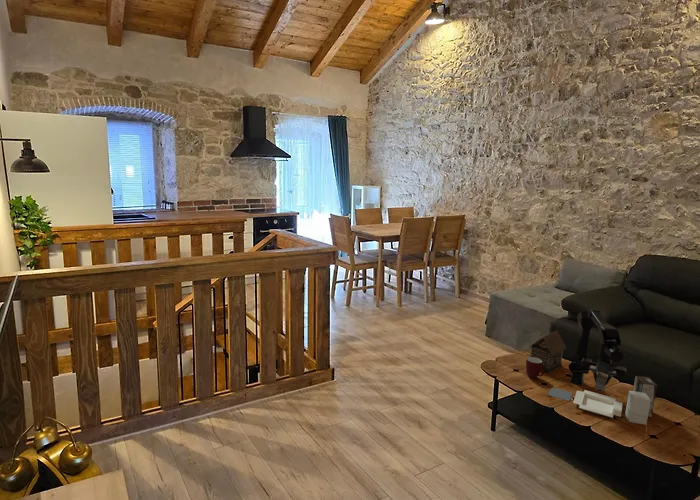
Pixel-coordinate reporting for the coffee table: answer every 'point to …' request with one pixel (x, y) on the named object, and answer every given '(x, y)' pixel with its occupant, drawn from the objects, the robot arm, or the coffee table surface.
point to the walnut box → (601, 381)
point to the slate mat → (560, 394)
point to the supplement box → (637, 407)
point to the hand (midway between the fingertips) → (600, 383)
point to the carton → (598, 403)
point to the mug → (534, 367)
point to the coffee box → (646, 390)
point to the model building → (549, 351)
